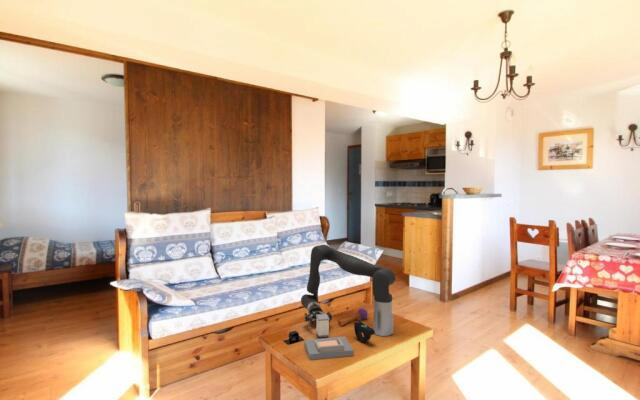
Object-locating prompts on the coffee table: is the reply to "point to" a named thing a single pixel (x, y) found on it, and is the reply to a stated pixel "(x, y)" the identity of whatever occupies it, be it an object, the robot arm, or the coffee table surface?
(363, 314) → the kendama
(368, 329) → the controller
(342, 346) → the dock
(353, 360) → the coffee table surface
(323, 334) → the box with lid
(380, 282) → the robot arm
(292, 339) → the black notched block
